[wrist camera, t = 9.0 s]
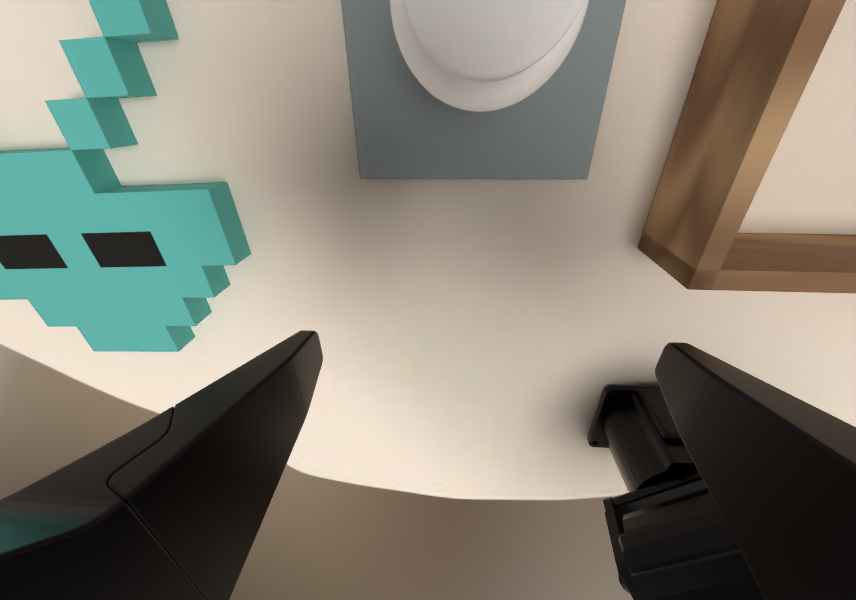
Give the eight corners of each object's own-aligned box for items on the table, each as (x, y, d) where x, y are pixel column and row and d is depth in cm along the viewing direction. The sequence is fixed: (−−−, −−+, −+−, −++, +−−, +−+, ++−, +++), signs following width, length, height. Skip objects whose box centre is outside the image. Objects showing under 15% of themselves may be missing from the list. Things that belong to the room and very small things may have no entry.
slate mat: (583, 177, 18) (586, 179, 18) (362, 176, 19) (360, 178, 19) (657, -174, 12) (666, -185, 12) (329, -154, 13) (323, -164, 12)
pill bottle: (563, -13, 14) (722, -179, 6) (506, 125, 17) (557, 151, 8) (438, -70, 14) (410, -345, 5) (400, 83, 16) (341, 66, 8)
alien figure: (-200, 15, 17) (43, 333, 28) (-280, 4, 16) (12, 350, 26) (165, -20, 16) (281, 333, 26) (125, -37, 14) (267, 351, 24)
